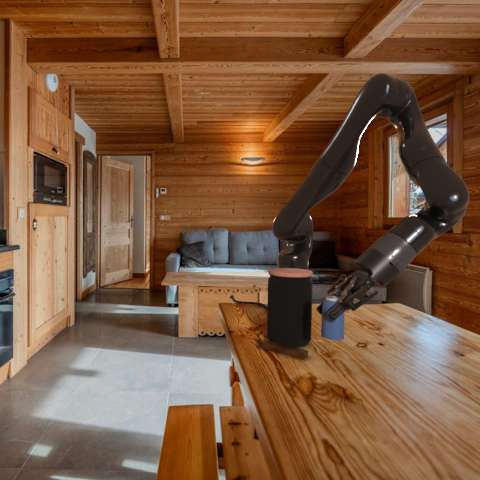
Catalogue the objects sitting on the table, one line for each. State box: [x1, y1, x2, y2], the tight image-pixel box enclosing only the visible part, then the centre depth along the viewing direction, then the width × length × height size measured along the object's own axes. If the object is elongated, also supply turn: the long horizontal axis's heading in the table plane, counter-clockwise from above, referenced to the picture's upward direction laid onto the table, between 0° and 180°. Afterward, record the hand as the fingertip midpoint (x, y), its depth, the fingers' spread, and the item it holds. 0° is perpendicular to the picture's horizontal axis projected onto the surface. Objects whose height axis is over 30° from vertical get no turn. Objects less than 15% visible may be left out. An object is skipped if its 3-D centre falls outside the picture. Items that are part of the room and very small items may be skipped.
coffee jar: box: [266, 267, 314, 348], centre depth 97 cm, size 11×11×18 cm
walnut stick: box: [258, 339, 309, 360], centre depth 90 cm, size 11×2×2 cm, turn 46°
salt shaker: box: [320, 295, 346, 341], centre depth 82 cm, size 4×4×8 cm
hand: (323, 315), depth 82 cm, fingers closed on salt shaker, 4 cm apart
